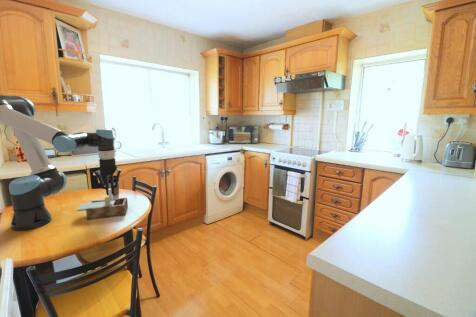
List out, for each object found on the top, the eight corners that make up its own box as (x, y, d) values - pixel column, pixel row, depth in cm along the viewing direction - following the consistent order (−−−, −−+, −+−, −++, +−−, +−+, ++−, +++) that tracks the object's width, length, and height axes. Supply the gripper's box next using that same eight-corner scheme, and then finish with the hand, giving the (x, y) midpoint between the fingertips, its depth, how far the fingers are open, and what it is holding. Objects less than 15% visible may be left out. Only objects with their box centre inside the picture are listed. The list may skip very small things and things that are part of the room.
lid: (77, 211, 121) (76, 202, 120) (82, 205, 129) (81, 196, 128) (112, 207, 126) (111, 198, 125) (115, 201, 134) (114, 193, 133)
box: (87, 220, 122) (85, 209, 121) (93, 210, 133) (92, 200, 132) (125, 215, 127) (124, 205, 126) (128, 207, 139) (127, 197, 137)
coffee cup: (123, 197, 153) (121, 175, 150) (115, 202, 145) (113, 179, 142) (111, 197, 154) (109, 175, 151) (103, 202, 146) (100, 179, 143)
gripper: (91, 160, 119) (96, 203, 124) (119, 158, 123) (123, 201, 128) (94, 157, 126) (99, 198, 131) (121, 156, 130) (125, 196, 135)
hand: (111, 200), depth 129 cm, fingers closed
